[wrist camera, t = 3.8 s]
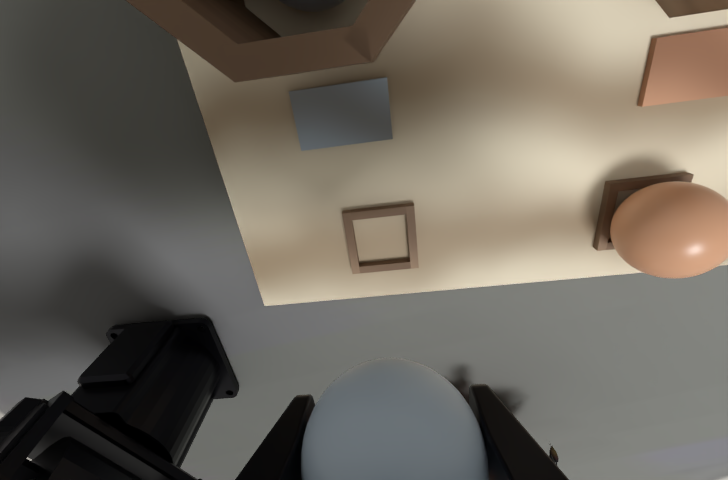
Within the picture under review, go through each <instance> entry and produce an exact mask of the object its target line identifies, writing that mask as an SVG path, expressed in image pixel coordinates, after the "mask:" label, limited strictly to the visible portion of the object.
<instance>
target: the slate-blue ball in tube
mask: <svg viewBox="0 0 728 480" xmlns="http://www.w3.org/2000/svg"><path fill="white" fill-rule="evenodd" d="M279 1H280V2H282V3H284V4H285V5H287V6H289V7H292V8H294V9H297V10H302V11H307V12H319V11H324V10H328V9H331V8H333V7H336V6H337V5H339V4H341V3H342V2H344V1H345V0H279Z"/></svg>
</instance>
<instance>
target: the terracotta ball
mask: <svg viewBox="0 0 728 480" xmlns="http://www.w3.org/2000/svg"><path fill="white" fill-rule="evenodd" d="M610 235H611V241H612V243H613V246H614V248H615V250H616V251H617V253H618V254H619V256H620V257H621V258H622V259H623V260H624V261H625V262H626V263H628V264H629V265H630V266H632V267H633V268H635V269H637V270H639V271H641V272H643V273H646V274H649V275H652V276H656V277H662V278H686V277H692V276H696V275H699V274H702V273H705V272H707V271H710V270H712V269H713V268H715V267H717V266H718V265H720V264H721V263H723V262H724V261H725V260H726V259H727V258H728V200H727V199H726V198H724V197H723V196H722V195H721V194H719V193H718V192H716V191H714V190H712V189H710V188H708V187H705V186H703V185H699V184H695V183H691V182H681V181H673V182H663V183H657V184H653V185H650V186H647V187H645V188H642V189H640V190H638V191H636V192H635V193H633V194H632V195H630V196H629V197H628V198H626V199H625V200H624V201H623V202H622V203H621V204H620V206H619V207H618V208H617V210H616V212H615V213H614V215H613V218H612V221H611V226H610Z"/></svg>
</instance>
